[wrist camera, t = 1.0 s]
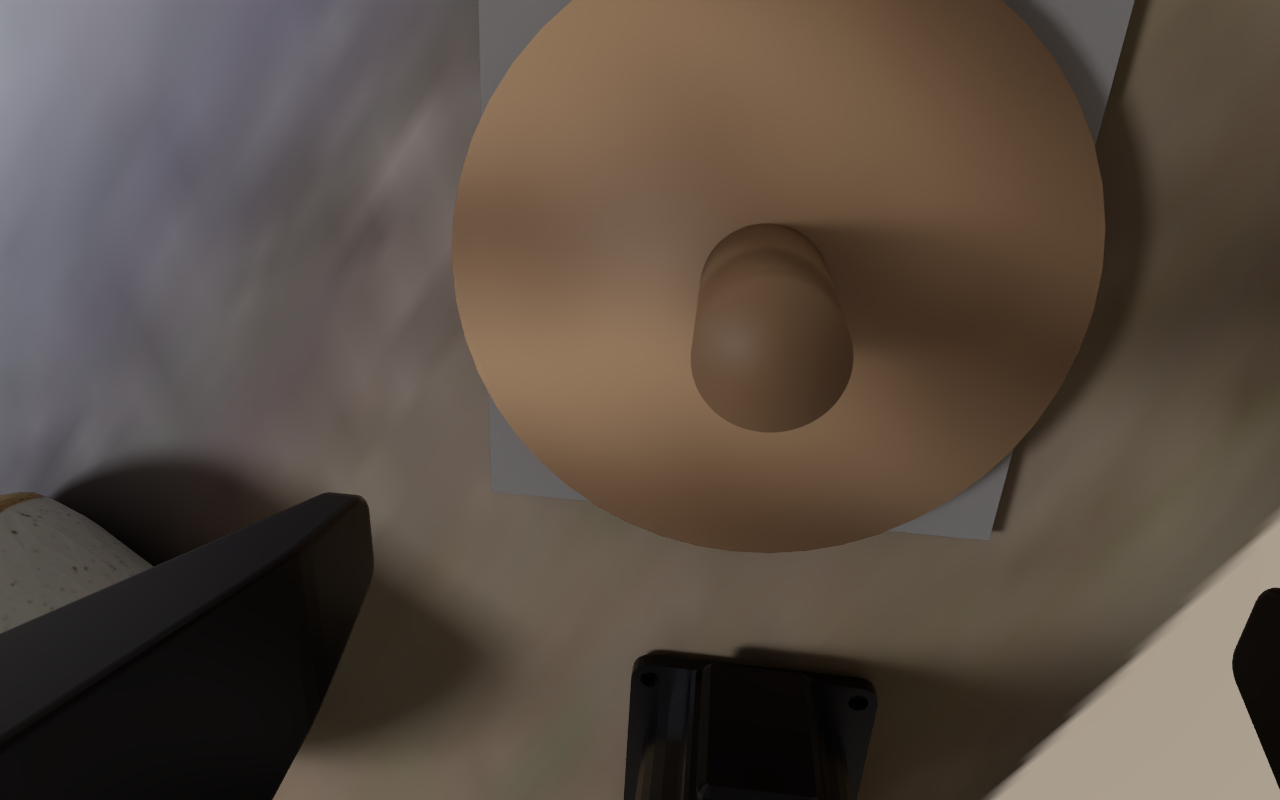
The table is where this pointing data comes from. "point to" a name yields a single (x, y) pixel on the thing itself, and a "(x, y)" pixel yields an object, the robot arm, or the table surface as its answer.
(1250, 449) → the table surface
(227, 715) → the robot arm
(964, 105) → the lid
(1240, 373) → the table surface
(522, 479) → the mat
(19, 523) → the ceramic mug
